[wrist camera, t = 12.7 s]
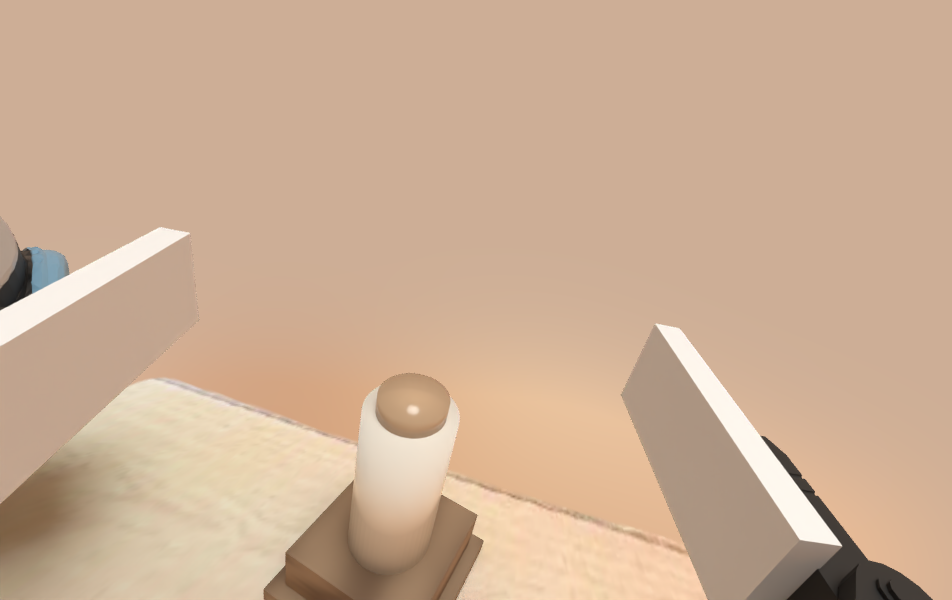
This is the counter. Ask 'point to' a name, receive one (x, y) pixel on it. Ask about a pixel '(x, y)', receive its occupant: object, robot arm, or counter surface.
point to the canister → (400, 471)
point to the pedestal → (367, 593)
